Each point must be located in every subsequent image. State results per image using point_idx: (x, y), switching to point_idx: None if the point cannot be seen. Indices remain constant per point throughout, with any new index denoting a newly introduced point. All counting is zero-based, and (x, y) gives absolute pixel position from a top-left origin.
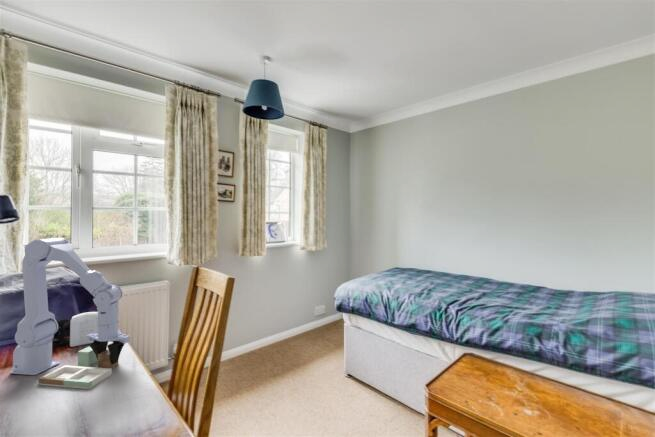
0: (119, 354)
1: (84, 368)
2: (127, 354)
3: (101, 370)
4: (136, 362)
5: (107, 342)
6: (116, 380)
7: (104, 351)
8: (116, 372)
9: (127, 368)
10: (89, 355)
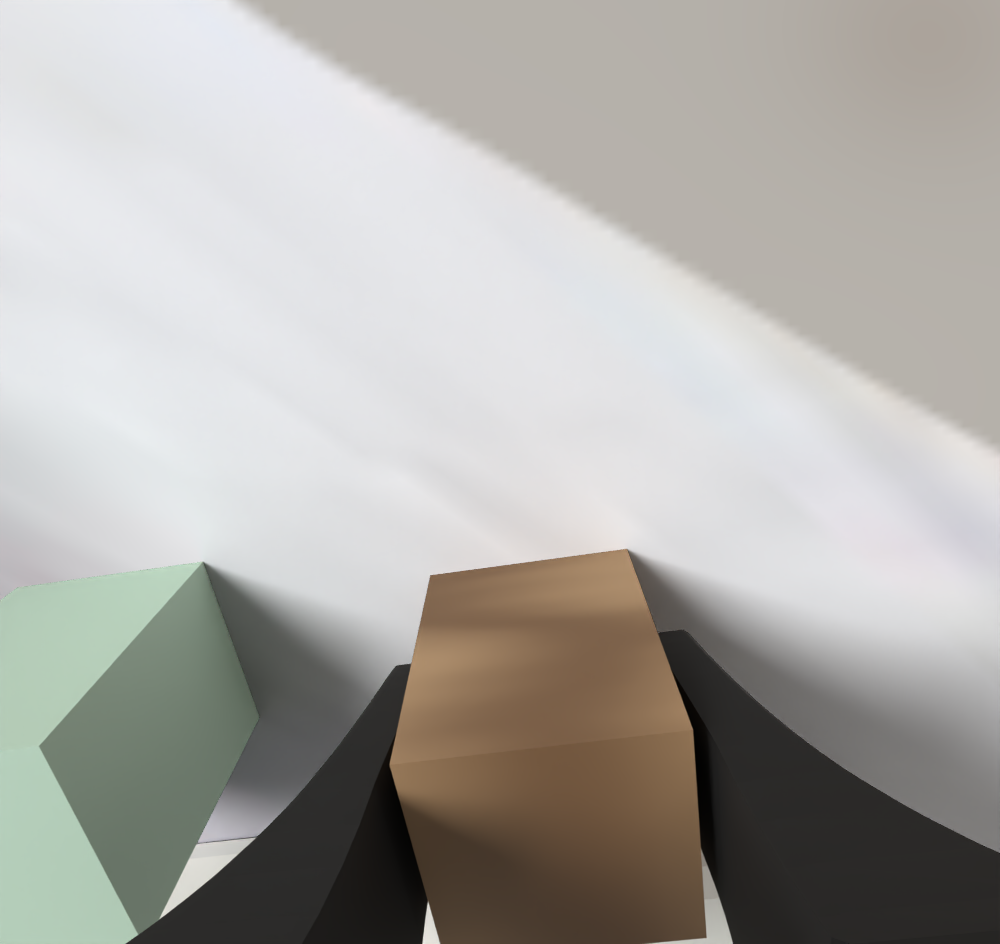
0: (747, 700)
1: (430, 927)
2: (448, 210)
3: (710, 888)
4: (914, 426)
5: (323, 940)
6: (984, 844)
7: (441, 858)
8: (825, 726)
9: (904, 612)
10: (177, 855)
